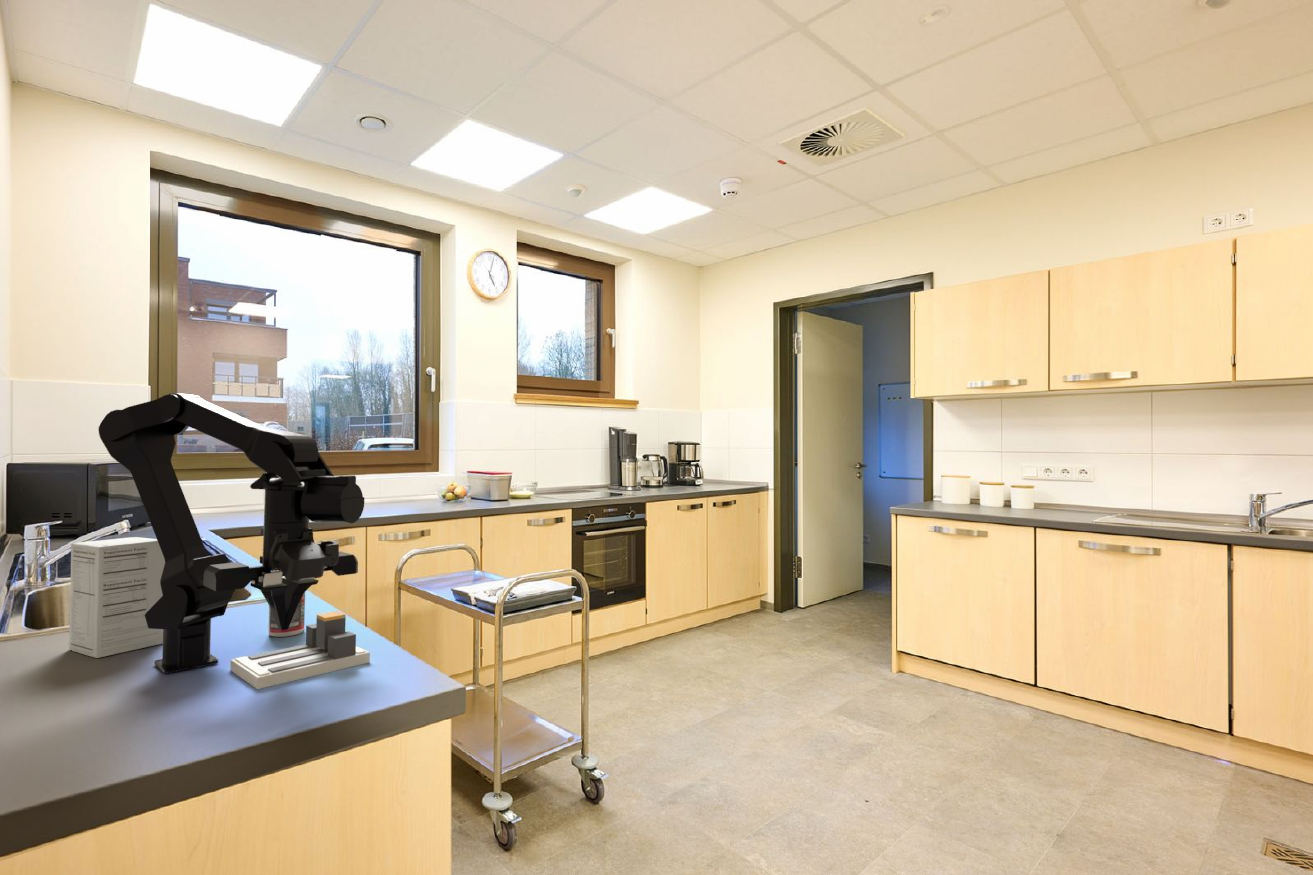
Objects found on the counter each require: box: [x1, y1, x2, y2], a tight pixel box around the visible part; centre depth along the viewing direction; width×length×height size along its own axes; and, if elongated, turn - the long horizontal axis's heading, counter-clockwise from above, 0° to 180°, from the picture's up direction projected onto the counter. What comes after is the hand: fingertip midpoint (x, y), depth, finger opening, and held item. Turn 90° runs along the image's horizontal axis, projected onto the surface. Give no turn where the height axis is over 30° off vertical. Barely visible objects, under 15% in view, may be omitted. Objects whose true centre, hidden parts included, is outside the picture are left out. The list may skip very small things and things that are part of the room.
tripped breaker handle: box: [315, 610, 347, 650], centre depth 98 cm, size 3×3×5 cm
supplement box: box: [68, 536, 165, 659], centre depth 104 cm, size 10×9×17 cm
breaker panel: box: [229, 623, 371, 690], centre depth 95 cm, size 11×15×4 cm
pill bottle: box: [268, 576, 306, 638], centre depth 112 cm, size 5×5×10 cm
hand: (283, 630), depth 94 cm, fingers closed
